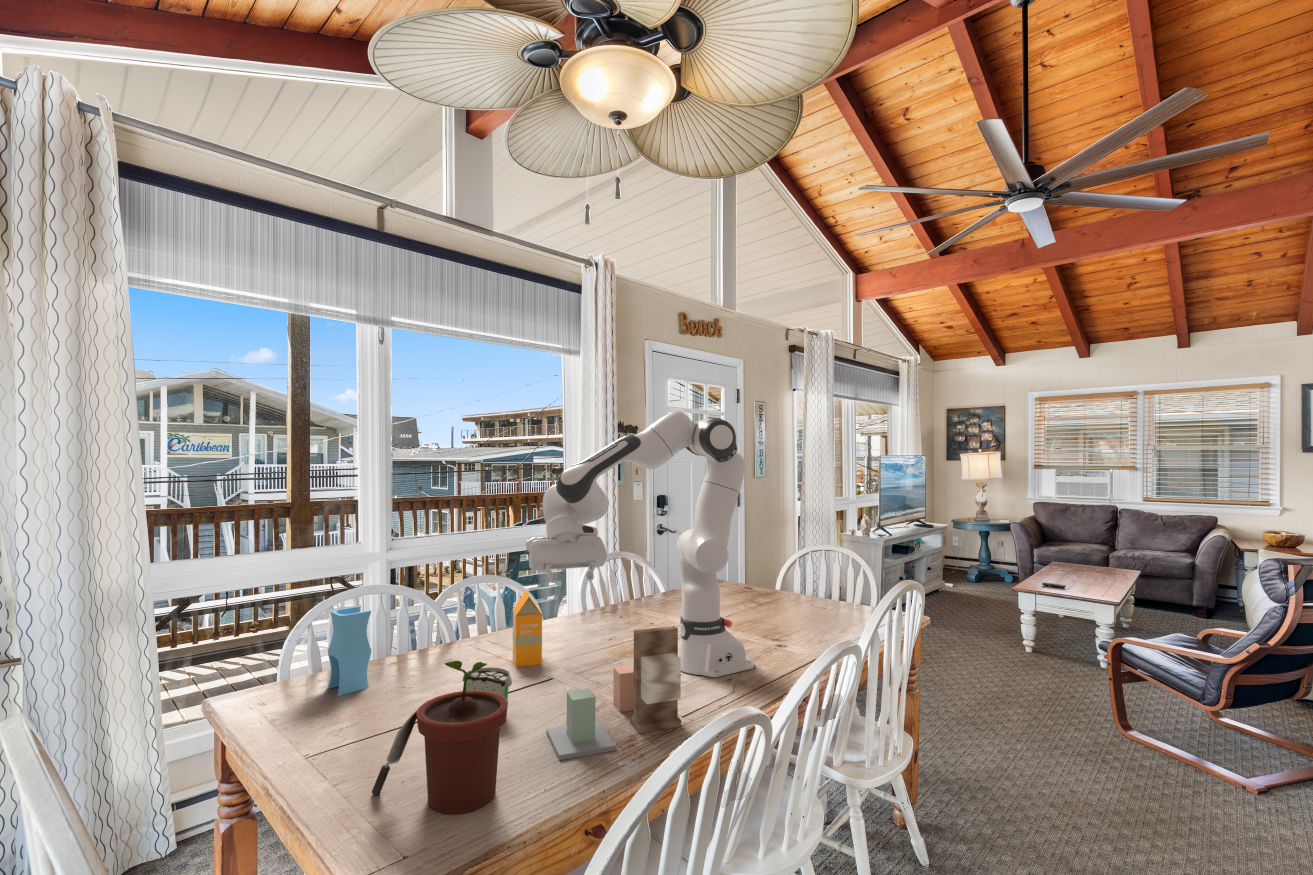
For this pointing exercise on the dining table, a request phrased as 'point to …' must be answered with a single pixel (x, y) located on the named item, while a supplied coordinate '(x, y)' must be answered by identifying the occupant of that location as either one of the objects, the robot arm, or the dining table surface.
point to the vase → (349, 650)
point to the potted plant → (456, 747)
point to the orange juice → (527, 632)
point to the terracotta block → (623, 688)
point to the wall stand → (656, 679)
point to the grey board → (574, 750)
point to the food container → (489, 680)
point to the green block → (580, 715)
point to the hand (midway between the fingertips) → (572, 580)
